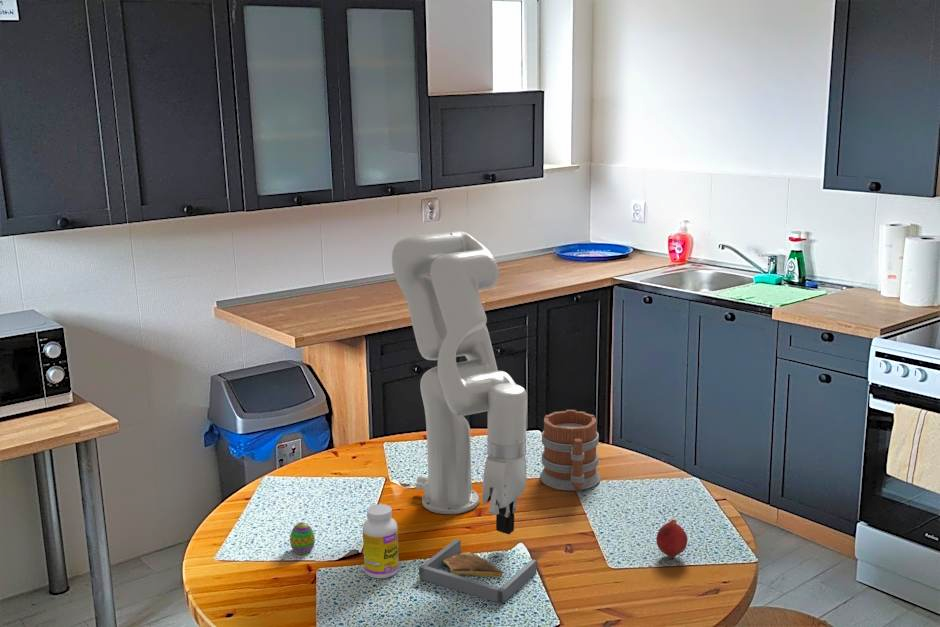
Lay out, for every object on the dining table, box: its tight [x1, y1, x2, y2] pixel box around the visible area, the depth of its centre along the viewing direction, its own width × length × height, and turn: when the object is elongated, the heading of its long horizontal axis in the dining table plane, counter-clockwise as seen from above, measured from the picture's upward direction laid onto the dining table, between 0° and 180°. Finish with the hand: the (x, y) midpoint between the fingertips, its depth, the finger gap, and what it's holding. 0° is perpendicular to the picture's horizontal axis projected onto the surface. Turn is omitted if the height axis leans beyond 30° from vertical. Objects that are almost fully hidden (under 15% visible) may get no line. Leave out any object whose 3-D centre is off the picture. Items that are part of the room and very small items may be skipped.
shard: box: [443, 551, 504, 578], centre depth 182 cm, size 11×8×2 cm
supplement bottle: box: [362, 503, 400, 579], centre depth 182 cm, size 7×7×13 cm
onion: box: [655, 518, 688, 559], centre depth 185 cm, size 6×6×8 cm
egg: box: [289, 521, 316, 555], centre depth 192 cm, size 5×5×6 cm
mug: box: [539, 409, 601, 492], centre depth 219 cm, size 14×19×15 cm
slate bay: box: [418, 538, 538, 605], centre depth 181 cm, size 18×13×2 cm
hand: (505, 530), depth 191 cm, fingers closed
